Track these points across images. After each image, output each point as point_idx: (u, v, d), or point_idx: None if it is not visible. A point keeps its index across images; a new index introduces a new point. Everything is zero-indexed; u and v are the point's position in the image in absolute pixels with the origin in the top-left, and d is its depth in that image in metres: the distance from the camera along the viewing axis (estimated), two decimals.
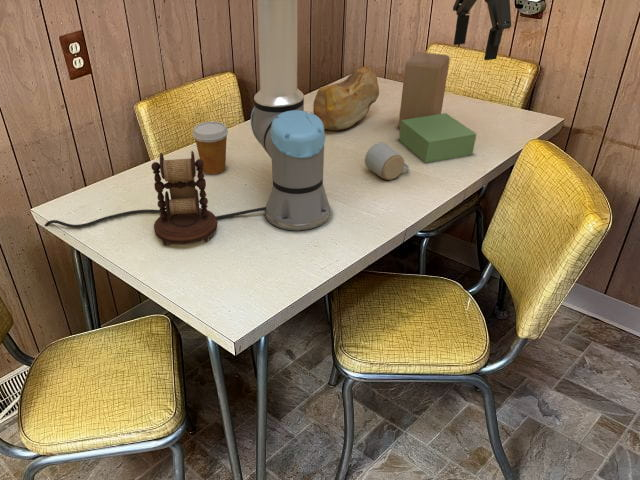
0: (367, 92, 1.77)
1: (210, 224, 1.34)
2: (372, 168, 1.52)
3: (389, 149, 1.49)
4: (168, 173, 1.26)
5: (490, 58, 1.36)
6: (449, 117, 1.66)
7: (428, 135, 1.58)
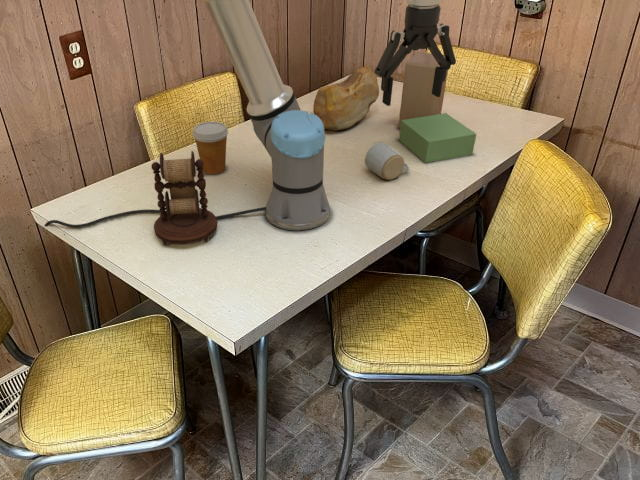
0: (367, 92, 1.77)
1: (210, 224, 1.34)
2: (372, 168, 1.52)
3: (389, 149, 1.49)
4: (168, 173, 1.26)
5: (384, 102, 1.43)
6: (449, 117, 1.66)
7: (428, 135, 1.58)
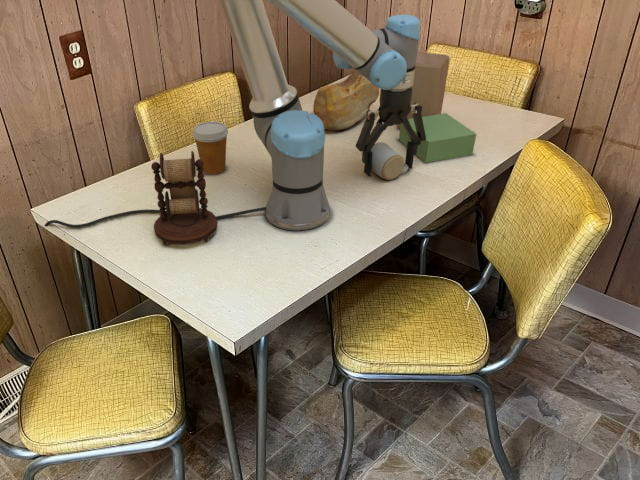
0: (367, 92, 1.77)
1: (210, 224, 1.34)
2: (372, 168, 1.52)
3: (389, 149, 1.49)
4: (168, 173, 1.26)
5: (365, 172, 1.53)
6: (449, 117, 1.66)
7: (428, 135, 1.58)
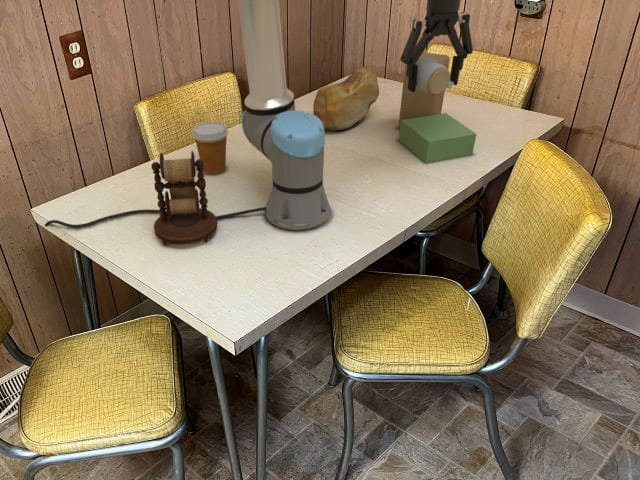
0: (367, 92, 1.77)
1: (210, 224, 1.34)
2: (417, 83, 1.48)
3: (435, 62, 1.46)
4: (168, 173, 1.26)
5: (409, 89, 1.50)
6: (449, 117, 1.66)
7: (428, 135, 1.58)
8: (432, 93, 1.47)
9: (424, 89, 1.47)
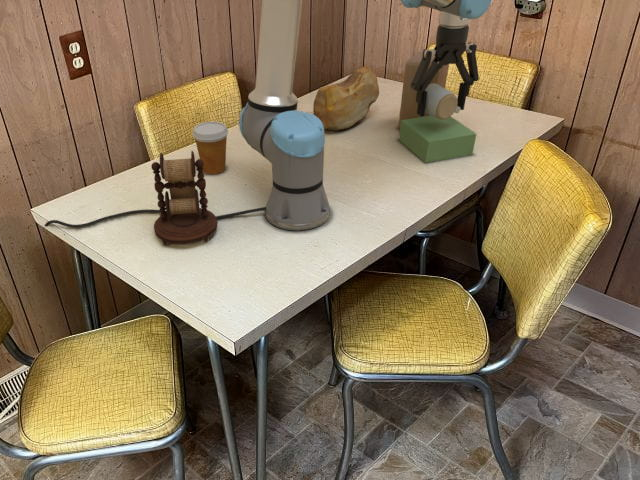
0: (367, 92, 1.77)
1: (210, 224, 1.34)
2: (426, 108, 1.57)
3: (443, 89, 1.54)
4: (168, 173, 1.26)
5: (418, 113, 1.58)
6: (449, 117, 1.66)
7: (428, 135, 1.58)
8: (440, 118, 1.55)
9: (433, 114, 1.55)
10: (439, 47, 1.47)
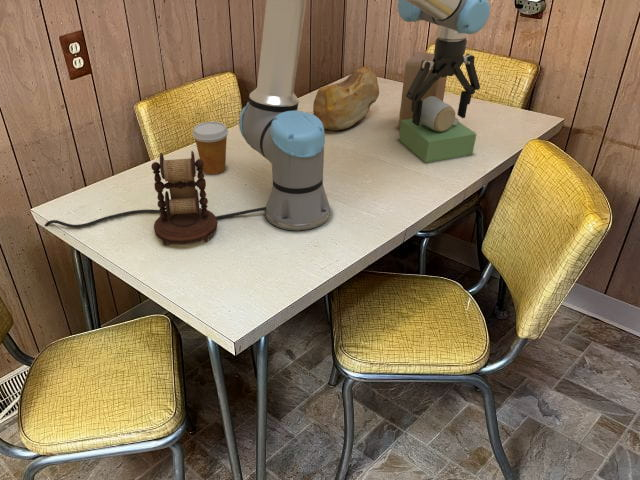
0: (367, 92, 1.77)
1: (210, 224, 1.34)
2: (424, 121, 1.59)
3: (441, 102, 1.56)
4: (168, 173, 1.26)
5: (414, 122, 1.59)
6: None
7: (428, 135, 1.58)
8: (438, 130, 1.57)
9: (431, 126, 1.58)
10: (437, 60, 1.49)
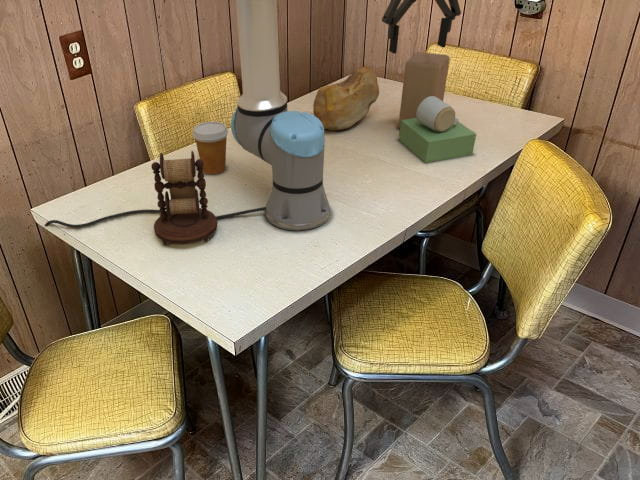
0: (367, 92, 1.77)
1: (210, 224, 1.34)
2: (424, 121, 1.59)
3: (441, 102, 1.56)
4: (168, 173, 1.26)
5: (391, 50, 1.51)
6: None
7: (428, 135, 1.58)
8: (438, 130, 1.57)
9: (431, 126, 1.58)
10: None
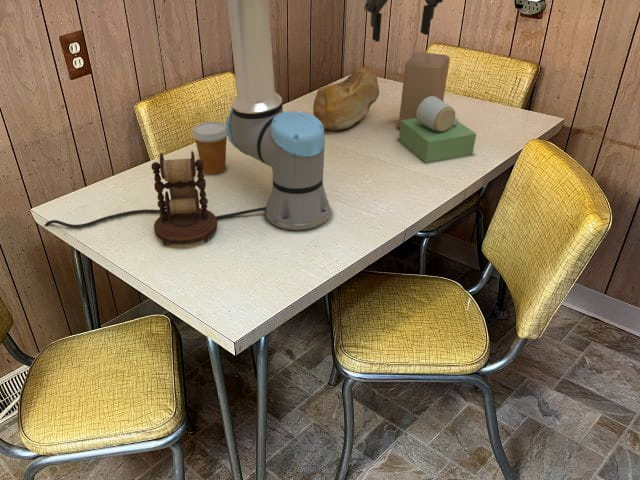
0: (367, 92, 1.77)
1: (210, 224, 1.34)
2: (424, 121, 1.59)
3: (441, 102, 1.56)
4: (168, 173, 1.26)
5: (374, 39, 1.51)
6: None
7: (428, 135, 1.58)
8: (438, 130, 1.57)
9: (431, 126, 1.58)
10: None
